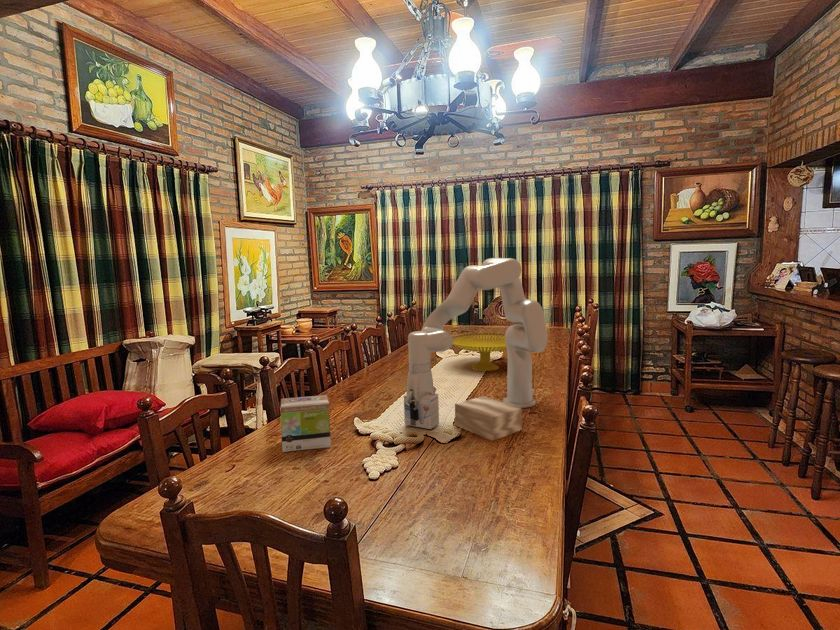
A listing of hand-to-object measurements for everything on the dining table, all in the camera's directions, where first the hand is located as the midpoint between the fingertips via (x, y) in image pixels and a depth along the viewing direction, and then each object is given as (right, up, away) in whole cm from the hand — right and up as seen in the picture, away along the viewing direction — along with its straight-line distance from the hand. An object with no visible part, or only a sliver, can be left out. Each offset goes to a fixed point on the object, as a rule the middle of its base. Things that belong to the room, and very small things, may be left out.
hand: (421, 415), depth 166 cm
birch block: (+23, -4, -3) cm, 23 cm away
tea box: (-37, -6, -14) cm, 40 cm away
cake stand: (+33, +8, +81) cm, 88 cm away
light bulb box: (0, -3, 0) cm, 3 cm away
